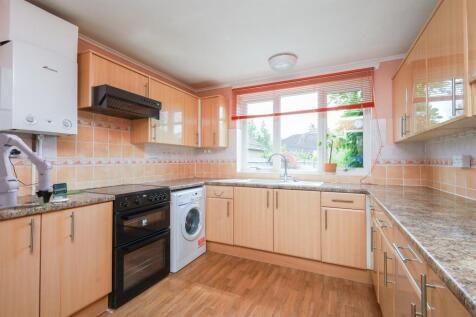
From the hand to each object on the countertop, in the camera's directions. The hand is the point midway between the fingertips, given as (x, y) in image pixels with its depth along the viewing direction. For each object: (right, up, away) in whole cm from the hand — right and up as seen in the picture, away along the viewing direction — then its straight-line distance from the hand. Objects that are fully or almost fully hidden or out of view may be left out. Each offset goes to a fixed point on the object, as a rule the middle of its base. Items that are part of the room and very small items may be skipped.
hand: (44, 202), depth 139 cm
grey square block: (-13, -1, +10) cm, 17 cm away
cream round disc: (-2, -1, +12) cm, 12 cm away
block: (0, -2, 0) cm, 2 cm away
